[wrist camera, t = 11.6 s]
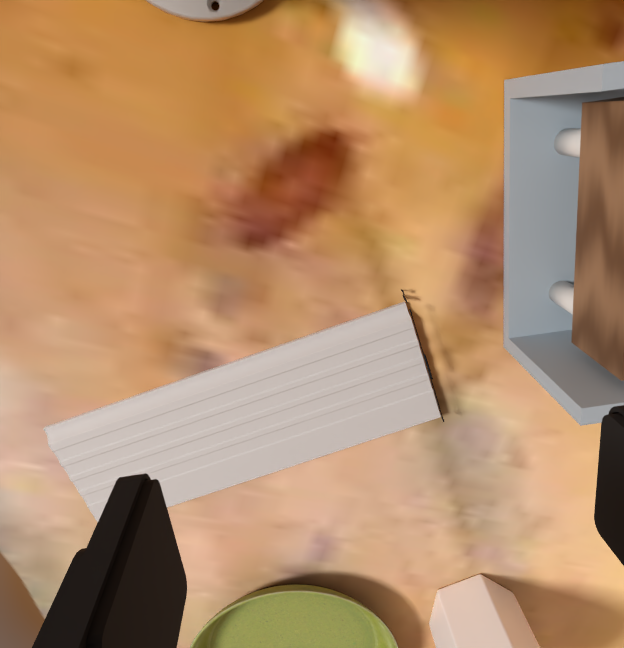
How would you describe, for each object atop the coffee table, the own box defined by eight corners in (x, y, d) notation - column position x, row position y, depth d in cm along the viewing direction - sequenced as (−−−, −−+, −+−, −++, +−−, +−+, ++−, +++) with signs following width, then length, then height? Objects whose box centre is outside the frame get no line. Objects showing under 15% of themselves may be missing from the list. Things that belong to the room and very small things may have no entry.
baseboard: (38, 407, 44) (107, 517, 49) (22, 426, 42) (97, 540, 46) (398, 281, 42) (437, 407, 46) (407, 293, 39) (446, 425, 44)
